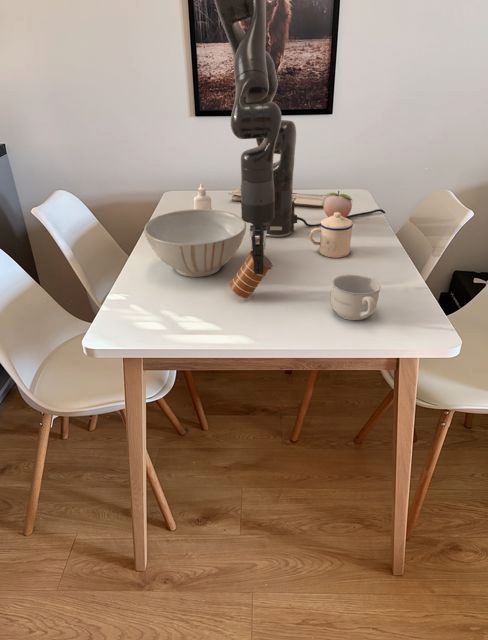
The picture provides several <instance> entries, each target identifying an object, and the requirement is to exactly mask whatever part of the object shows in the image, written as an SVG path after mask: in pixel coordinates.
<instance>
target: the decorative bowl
mask: <svg viewBox="0 0 488 640" xmlns="http://www.w3.org/2000/svg"><path fill="white" fill-rule="evenodd" d="M246 230H247V222H245V221H243V219H242V216H241V217H240V216H239V215H237V214H235V213H232V212H228V211H224V210H219V209H212V210H208V209H194V208H193V209H184V210H183V209H181V210H176V211H171V212H167V213H164V214H160V215H158V216H156V217H154V218H152V219H150V220H149V221H147V223H146V224H145V225H144V229H143V232H144V235H145V238H146V240H147V242H148V245H150V247H151V249H152V250H153V252H154V254H155V255H157V257H158V258H159V259H160V260H161V261H162V262H163V263H164V264H166V265H168V266H169V267H171V268H173V269H175V271H176V272H177V273H178V274H180V275H182V276H185V277H192V278H200V277H208V276H211V275H213V274H215V273H218V271H220V269H221V267H222V266H224V265H225V264H226V263H228V262H229V261H230V260H231V259H232V258H233V257H234V256H235V254H236V253H237V252H238V250H239V248H240V246H241V245H242V243H243V240H244V238H245V234H246Z"/></svg>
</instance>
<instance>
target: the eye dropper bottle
mask: <svg viewBox="0 0 488 640" xmlns="http://www.w3.org/2000/svg"><path fill="white" fill-rule="evenodd" d="M206 189H207V188H206V187H204V185H203V183H200V185H199V187H198V188H197V195H195V196H194V198H193V209H208V210H213V209H212V198H211V196H210V195H208V194H207V192H206V191H207V190H206Z"/></svg>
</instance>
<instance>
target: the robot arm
mask: <svg viewBox="0 0 488 640" xmlns="http://www.w3.org/2000/svg"><path fill="white" fill-rule="evenodd" d="M213 1H214V4H215V7H216V10H217V14H218V17H219V19H220V22H221V24H222V27H223V29H224V32H225V34H226V37H227V40H228V43H229V45H230V48H231V51H232V55H233V58H234V59H233V74H234V84H235V97H234V103H233V108H232V110H231V115H230V129H231V132H232V134H233V135H234V136H235V137H236V138H237V139H240V140H255V141H256V145H257V146H256V147H253V148H249V149H246V150H244V151H243V152H242V153H241V155H240V176H241V177H240V178H241V181H240V182H241V183H240V189H241V202H240V209H241V210H240V211H241V218H242V219H243V221H245V223H246V224H249V225H250V224H251V225H250V226H249V237H250V249H251V251H252V253H253V256H252V258H253V260H254V273H255V274H263V271H264V270H263V259H264V255H265V250H266V248H267V243H266V242H267V237H270V238H284V237H288V236H290V235H291V234H292V233H294V231H295V224H298V221H301V222H303V224H304V225H305V226H306V227H309V228H313V227H314V228H316V227H321V225H320V223H316V224H312V223H308V222H307V221H306V219H304V218H302V217H299V216H298V215H297V214H296V213H295V206H296V205H295V203H294V201H292V193H294V192H293V191H294V190H293V188H294V186H293V185H294V170H295V169H294V168H295V156H296V155H295V154H296V144H297V127H296V124H295V122H294V121H292V120H286V119H282V111H281V108H280V106H279V105H278V104H277V103H276V102H274V101H273V99H274V98H275V95H276V93H277V90H278V87H279V80H278V75H277V71H276V67H275V62H274V60H273V57H272V56H271V54H270V53H269V52H268V51H267V50H266V42H267V0H213ZM249 19H250V21H249V24H248V26H247V29H246V31H245V30H244V28H243V27H242V26H241V23H240V22H242V21H246V20H249ZM274 155H280V156H279V160H278V161H276V162H274ZM378 212H379V213H380V212H381V213H382V214H386V211H385V210H383V209H382V208H378V209H374V210H370V211H364V212H360V213H359V212H358V213H354V214H348V215H347V216H346V217H345V218H348V219H351V218H355V217H360V216H365V215H371V214H374V213H375V214H376V213H378ZM255 251H258V252H260V253H261V254H255Z"/></svg>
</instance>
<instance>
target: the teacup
mask: <svg viewBox="0 0 488 640" xmlns="http://www.w3.org/2000/svg"><path fill="white" fill-rule="evenodd" d="M331 284H332V286H331V295H330V304H331V305H330V306H331V307H332V309H333V311H334V312H335V313H336V314H337V315H338V316H339V317H341V318H343V319H345V320H349V321H361V320H364V319H366V318H367V317H369V316H372V315H373V314H374V313H375V311H376V309H377V306H378V301H379V297H380V292H381V283H379V281H377V280H375V279H373V278H371V277H368V276H364V275H359V274H343V275H339V276H336V277H335V278H333V279H332V281H331Z"/></svg>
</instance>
